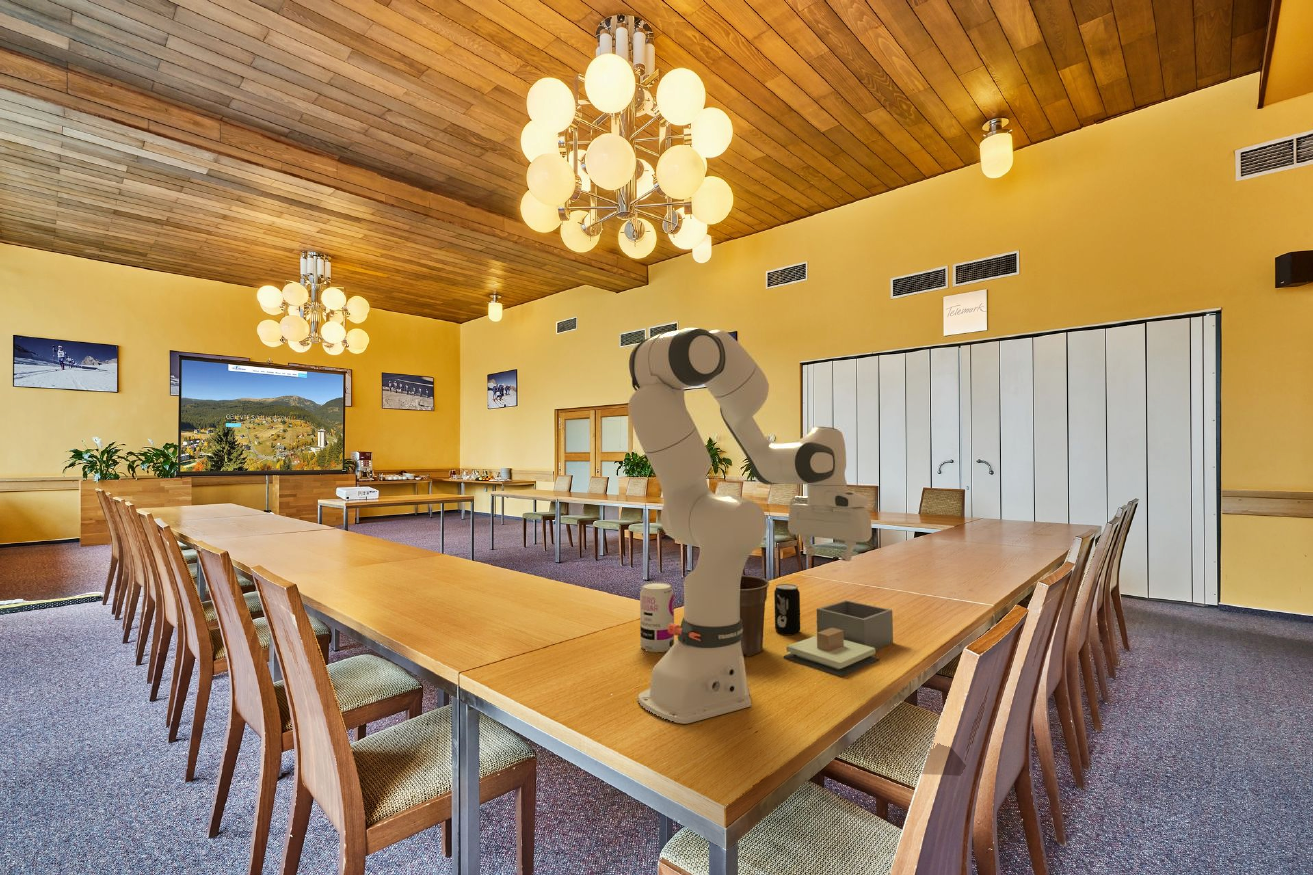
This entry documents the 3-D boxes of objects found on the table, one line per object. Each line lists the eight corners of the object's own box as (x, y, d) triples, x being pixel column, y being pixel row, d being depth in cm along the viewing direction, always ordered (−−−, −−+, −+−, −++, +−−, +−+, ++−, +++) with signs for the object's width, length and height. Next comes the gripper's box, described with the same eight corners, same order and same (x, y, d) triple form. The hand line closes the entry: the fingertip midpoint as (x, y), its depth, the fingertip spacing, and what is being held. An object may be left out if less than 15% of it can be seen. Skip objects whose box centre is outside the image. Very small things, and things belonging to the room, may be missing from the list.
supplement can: (675, 642, 140) (674, 582, 140) (672, 654, 132) (672, 589, 132) (643, 641, 141) (642, 581, 141) (638, 653, 132) (638, 589, 133)
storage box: (865, 654, 130) (864, 619, 130) (817, 640, 140) (816, 608, 140) (893, 642, 138) (892, 609, 139) (846, 630, 148) (845, 600, 149)
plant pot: (691, 653, 132) (691, 585, 132) (717, 634, 146) (716, 572, 147) (758, 665, 124) (757, 592, 125) (778, 643, 138) (777, 578, 139)
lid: (840, 673, 118) (840, 646, 118) (786, 655, 128) (786, 630, 129) (875, 657, 126) (874, 632, 127) (822, 642, 137) (821, 619, 137)
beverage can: (803, 635, 144) (802, 588, 145) (777, 635, 144) (776, 589, 145) (797, 627, 151) (796, 583, 151) (772, 628, 151) (772, 583, 152)
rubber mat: (841, 677, 117) (841, 674, 117) (783, 657, 128) (783, 655, 128) (878, 660, 126) (878, 658, 126) (821, 643, 138) (821, 641, 138)
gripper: (781, 496, 135) (782, 553, 134) (859, 500, 119) (860, 565, 119) (797, 494, 139) (798, 550, 138) (874, 498, 123) (876, 562, 123)
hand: (828, 557), depth 128 cm, fingers open, 8 cm apart
